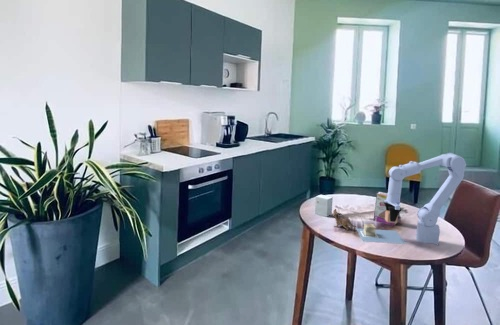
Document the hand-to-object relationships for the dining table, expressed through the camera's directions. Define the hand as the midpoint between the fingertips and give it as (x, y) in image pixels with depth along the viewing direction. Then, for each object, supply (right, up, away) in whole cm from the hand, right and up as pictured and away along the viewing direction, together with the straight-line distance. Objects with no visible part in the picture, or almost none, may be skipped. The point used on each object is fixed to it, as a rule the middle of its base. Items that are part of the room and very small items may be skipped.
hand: (391, 219), depth 173 cm
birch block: (-9, -8, +4) cm, 13 cm away
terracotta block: (0, -1, 0) cm, 1 cm away
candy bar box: (+5, -6, +22) cm, 24 cm away
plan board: (-4, -9, +3) cm, 11 cm away
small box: (-26, -3, +33) cm, 42 cm away
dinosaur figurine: (-21, -7, +12) cm, 25 cm away
